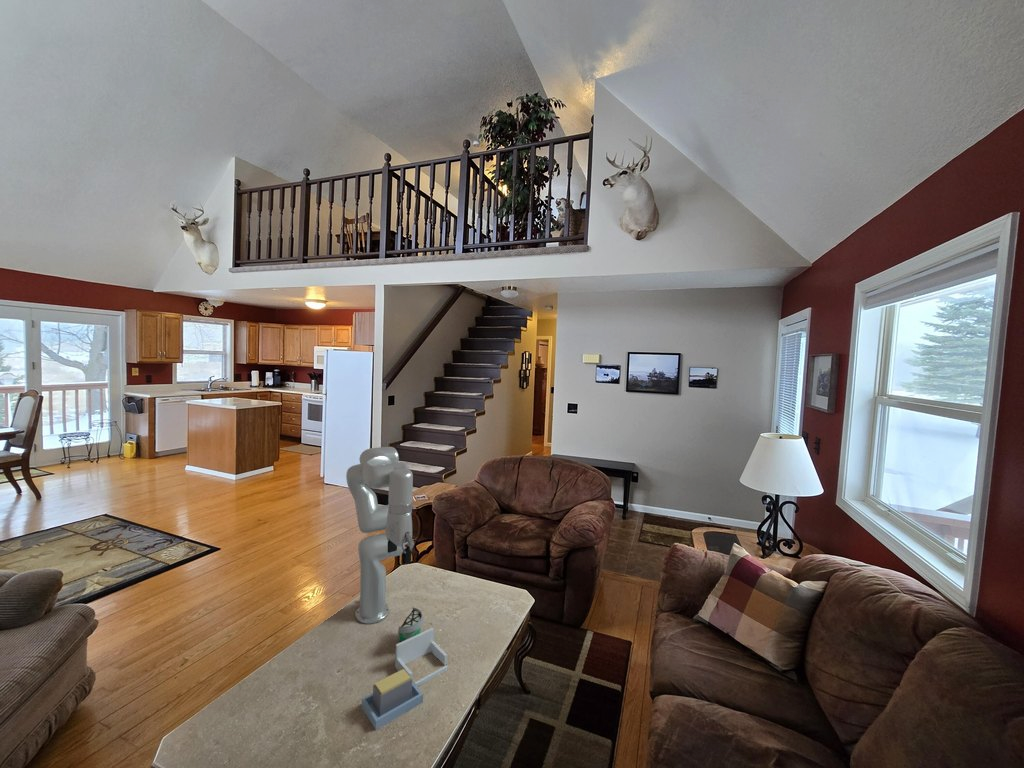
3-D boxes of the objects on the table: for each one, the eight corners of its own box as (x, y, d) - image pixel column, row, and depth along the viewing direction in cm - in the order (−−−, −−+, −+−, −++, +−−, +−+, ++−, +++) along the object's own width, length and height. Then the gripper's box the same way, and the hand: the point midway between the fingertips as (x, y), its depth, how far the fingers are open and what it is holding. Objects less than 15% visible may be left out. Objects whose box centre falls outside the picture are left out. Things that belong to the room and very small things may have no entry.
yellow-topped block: (372, 705, 128) (373, 683, 127) (403, 688, 135) (404, 667, 134) (380, 716, 124) (380, 694, 124) (411, 698, 131) (412, 677, 130)
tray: (361, 706, 128) (361, 698, 128) (406, 682, 138) (407, 674, 138) (375, 730, 121) (376, 721, 120) (422, 702, 131) (423, 694, 130)
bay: (395, 667, 144) (395, 644, 143) (431, 648, 153) (432, 627, 152) (412, 689, 135) (413, 665, 134) (450, 668, 145) (451, 645, 144)
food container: (414, 658, 148) (414, 630, 147) (397, 654, 150) (398, 627, 149) (428, 634, 160) (429, 609, 159) (412, 631, 162) (413, 606, 161)
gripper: (377, 501, 146) (376, 550, 148) (402, 518, 133) (401, 572, 135) (398, 497, 151) (397, 544, 153) (424, 513, 138) (422, 564, 140)
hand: (399, 557), depth 144 cm, fingers open, 9 cm apart
